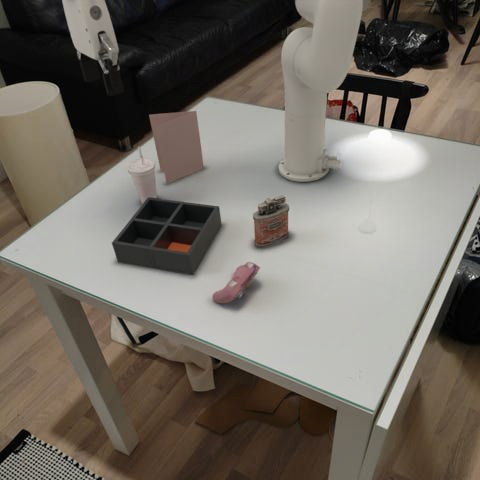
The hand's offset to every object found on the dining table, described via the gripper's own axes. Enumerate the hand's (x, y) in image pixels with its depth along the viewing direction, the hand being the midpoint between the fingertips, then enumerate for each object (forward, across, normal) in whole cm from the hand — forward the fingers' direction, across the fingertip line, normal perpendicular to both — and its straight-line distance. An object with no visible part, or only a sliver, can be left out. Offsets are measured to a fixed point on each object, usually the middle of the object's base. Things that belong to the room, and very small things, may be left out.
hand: (104, 86), depth 93 cm
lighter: (+29, -30, -16) cm, 45 cm away
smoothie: (+29, +2, -4) cm, 29 cm away
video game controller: (+29, -38, -1) cm, 48 cm away
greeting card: (+29, +6, -17) cm, 34 cm away
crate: (+29, -16, 0) cm, 33 cm away
